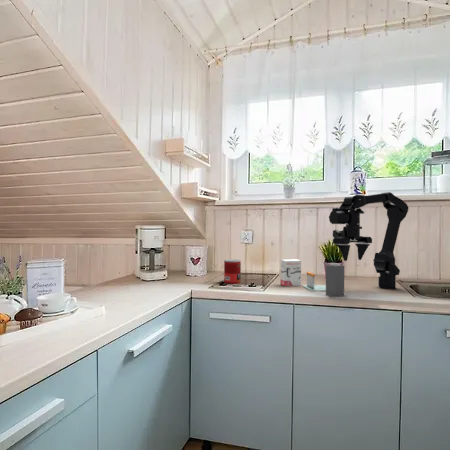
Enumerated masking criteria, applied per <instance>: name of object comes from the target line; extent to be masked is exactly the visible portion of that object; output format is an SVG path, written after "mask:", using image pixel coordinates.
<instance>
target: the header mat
mask: <svg viewBox="0 0 450 450" xmlns="http://www.w3.org/2000/svg"><path fill="white" fill-rule="evenodd" d="M301 287H303V288H304V289H306V290H307V291H310V292H326V284H314V289H311V288H309V287H307V284H301Z"/></svg>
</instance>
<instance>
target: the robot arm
mask: <svg viewBox="0 0 450 450" xmlns="http://www.w3.org/2000/svg"><path fill="white" fill-rule="evenodd" d="M376 203H382V206H383V208H384V209H385V210H386V216H387V219H388V220H387V221H388V222H387V226H386V230H385V234H384V238H383V242H382V246H381V250H380V251H379V252H375V254H374V259H373V260H372V261H373V266H374V268H375V271H376V274H379V275H378V277H377V278H378V279H377V280H378V281H377V282H378V283H377V285H378V287H379V288H380V289H390V290H391V289H393V290H397V286H396V284H397V283H396V280H397V278H396V276H399V275H400V273H401V270H400V269H399V267H398V266H397V265H396V257H395V254H394V252H395V246H396V243H397V240H398V239H397V238H398V234H399V230H400V227H401V224H402V221H403V220H405V218H406V216H407V215H408V212H409V206H408V203H406V202H405V201H403V199H401V198H399V197H397V196H396V195H395V194H394V193H393V192H390V191H388V192H381V193H377V194H376V193H375V194H368V195H365V194H352V195H350V194H349V195H346V196H344V199H343V201H342V203H341V205H340V206H339V207H332V209H331V211H330V214H329V216H328V220H329V223H330V224H332V225H345V226H343V227H342V230H339V229H334V230H332V237H333V238H332V244H333V245H334V246H336V247H337V248H339V251H340V253H341V255H342V258H343V259H342V260H343V261H344V262H347V261H348V258H349V252H350V248H351V244H350V243H354V245H355V246H356V248H357V258H358V259H357V260H359V261H361V260H362V259H363V257H364V255H365V253H366V251H367V249H369V248H368V247H369V246H371V244H372V243H373V238H372V237H371V236H362V235H361V230H363V226H361V214H363V215H364V214H365V211H364V210H363V209H362V208H363V207H365V206H366V205H368V204H376Z"/></svg>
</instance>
